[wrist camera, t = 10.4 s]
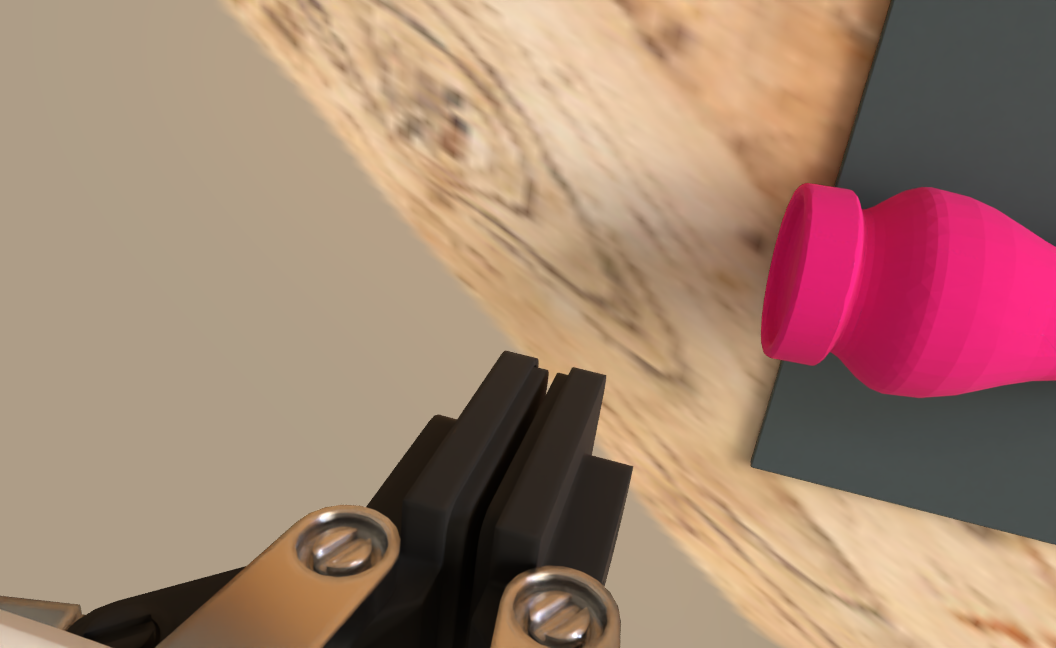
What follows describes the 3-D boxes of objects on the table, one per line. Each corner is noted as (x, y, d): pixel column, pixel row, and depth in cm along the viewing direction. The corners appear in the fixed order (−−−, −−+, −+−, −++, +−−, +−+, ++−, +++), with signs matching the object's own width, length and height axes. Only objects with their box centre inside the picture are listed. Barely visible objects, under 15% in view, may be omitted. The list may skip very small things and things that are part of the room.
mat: (912, -70, 26) (915, -71, 26) (1474, -2, 23) (1488, -2, 23) (750, 461, 36) (750, 467, 35) (1132, 558, 33) (1138, 566, 32)
